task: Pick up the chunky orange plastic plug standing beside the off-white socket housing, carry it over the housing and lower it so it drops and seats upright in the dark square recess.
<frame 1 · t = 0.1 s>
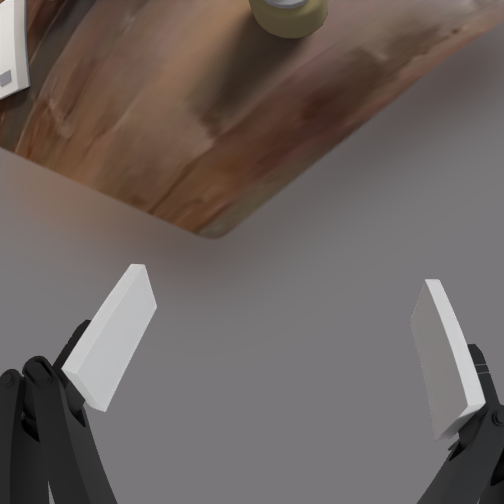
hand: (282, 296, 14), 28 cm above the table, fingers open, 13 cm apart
squeeze bottle: (290, 11, 28), on the table
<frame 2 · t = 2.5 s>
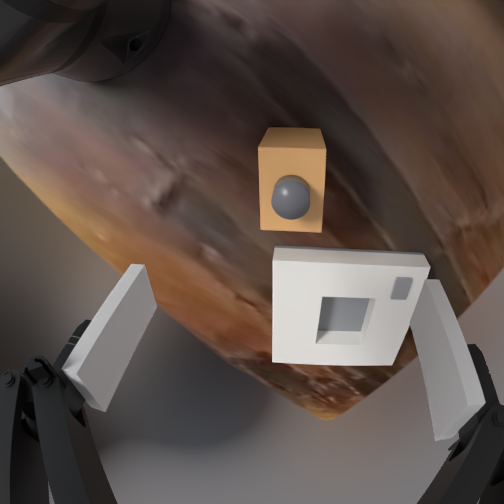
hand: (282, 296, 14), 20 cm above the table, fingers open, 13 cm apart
socket: (342, 306, 40), on the table
plug: (294, 161, 30), on the table
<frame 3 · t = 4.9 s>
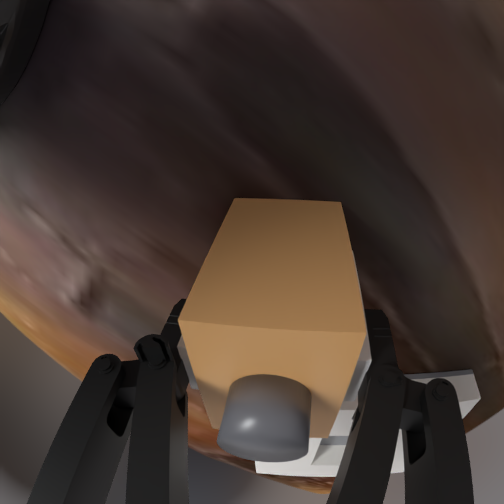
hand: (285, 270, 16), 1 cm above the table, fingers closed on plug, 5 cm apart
socket: (350, 425, 26), on the table
plug: (286, 261, 16), on the table, touching gripper
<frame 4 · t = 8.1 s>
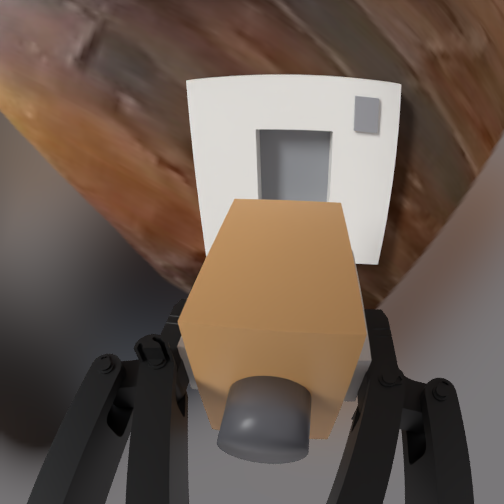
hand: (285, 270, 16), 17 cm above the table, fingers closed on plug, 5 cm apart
socket: (294, 166, 30), on the table
plug: (286, 262, 16), point 16 cm above the table, touching gripper
when the fingers open (4 cm above the table, at t = 11.4 s): plug drops 3 cm, resting on socket.
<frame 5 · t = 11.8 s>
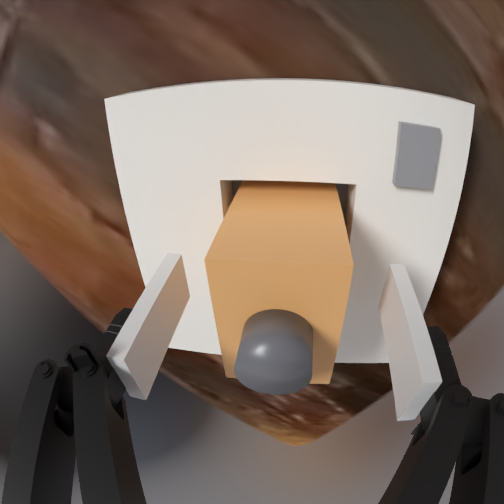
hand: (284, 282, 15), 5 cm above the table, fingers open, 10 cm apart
socket: (289, 229, 19), on the table
plug: (288, 233, 19), resting on socket
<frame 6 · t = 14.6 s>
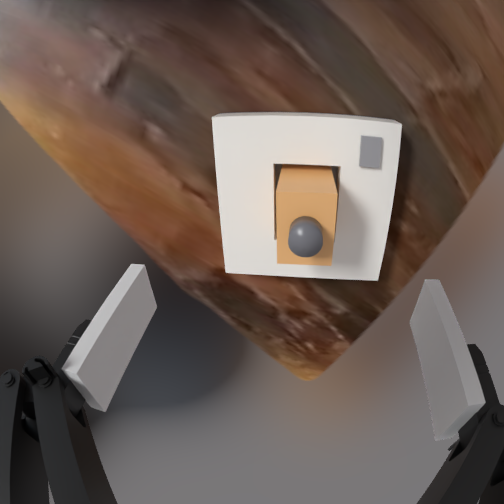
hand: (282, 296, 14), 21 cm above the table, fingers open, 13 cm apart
socket: (306, 194, 34), on the table
plug: (306, 195, 33), resting on socket
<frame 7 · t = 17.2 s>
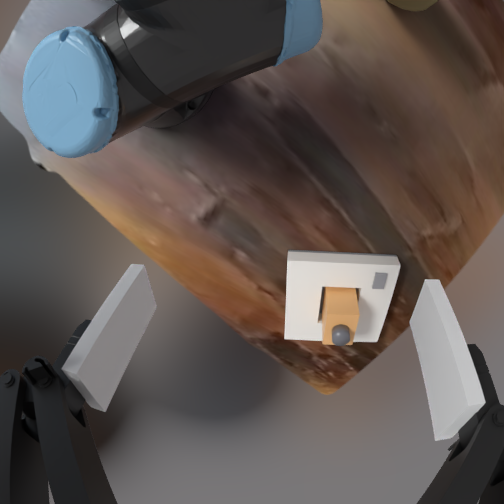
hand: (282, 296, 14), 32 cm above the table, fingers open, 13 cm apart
socket: (337, 295, 54), on the table
plug: (337, 296, 53), resting on socket
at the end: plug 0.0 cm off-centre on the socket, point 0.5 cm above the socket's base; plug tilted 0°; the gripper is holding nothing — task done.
